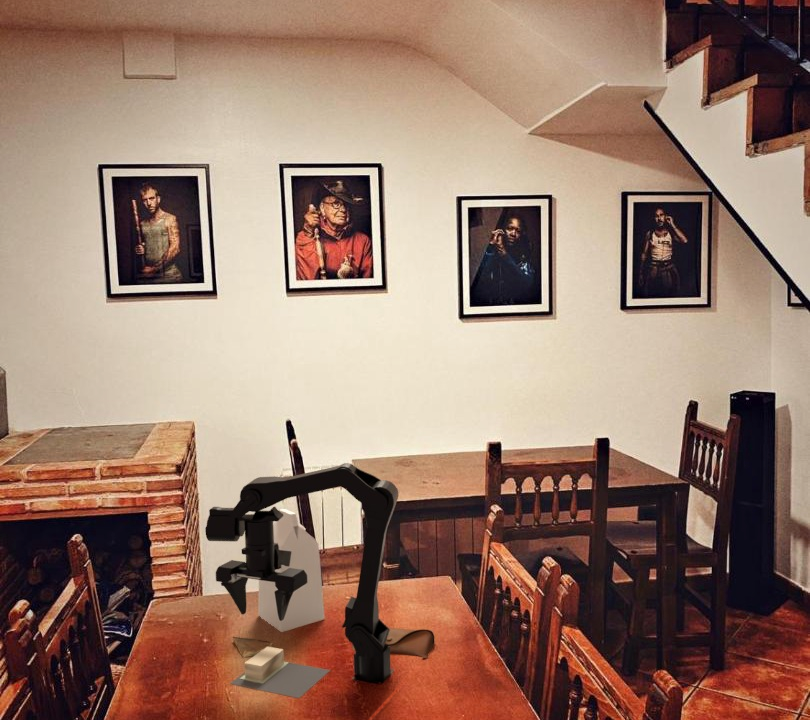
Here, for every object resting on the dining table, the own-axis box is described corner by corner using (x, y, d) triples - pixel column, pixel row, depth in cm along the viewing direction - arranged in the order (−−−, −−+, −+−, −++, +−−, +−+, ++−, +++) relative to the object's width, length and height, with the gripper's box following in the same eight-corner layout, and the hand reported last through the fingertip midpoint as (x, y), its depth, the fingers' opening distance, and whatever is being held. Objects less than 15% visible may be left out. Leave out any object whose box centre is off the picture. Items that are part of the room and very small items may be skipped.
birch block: (261, 680, 152) (261, 666, 152) (245, 677, 153) (244, 662, 153) (284, 663, 159) (283, 649, 159) (267, 660, 161) (267, 646, 160)
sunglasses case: (346, 654, 164) (349, 621, 167) (353, 658, 170) (356, 626, 173) (429, 659, 160) (431, 626, 163) (433, 663, 167) (435, 630, 170)
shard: (232, 643, 172) (232, 635, 172) (266, 636, 175) (266, 629, 175) (242, 663, 162) (241, 654, 162) (277, 656, 165) (277, 647, 165)
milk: (258, 616, 186) (254, 511, 184) (300, 604, 193) (296, 502, 191) (281, 632, 176) (277, 521, 175) (324, 619, 183) (320, 512, 182)
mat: (330, 673, 156) (330, 669, 156) (299, 701, 145) (299, 697, 145) (264, 660, 162) (264, 657, 162) (229, 686, 151) (229, 682, 151)
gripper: (320, 534, 158) (322, 608, 159) (245, 526, 166) (247, 596, 167) (290, 550, 148) (293, 629, 149) (212, 541, 155) (215, 616, 156)
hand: (262, 616), depth 156 cm, fingers open, 9 cm apart
